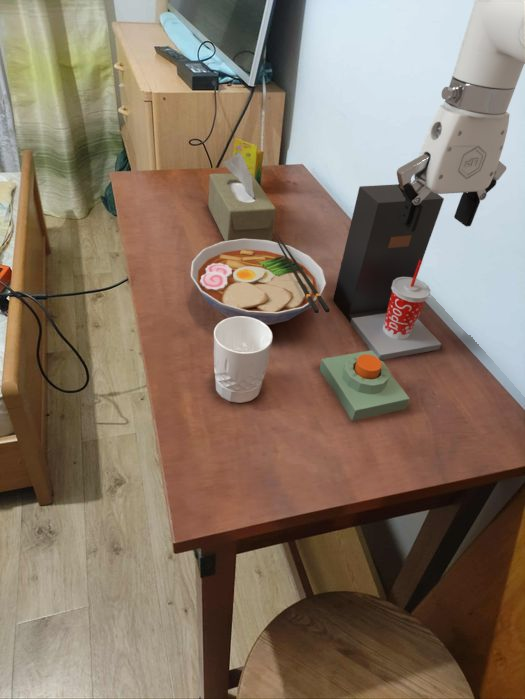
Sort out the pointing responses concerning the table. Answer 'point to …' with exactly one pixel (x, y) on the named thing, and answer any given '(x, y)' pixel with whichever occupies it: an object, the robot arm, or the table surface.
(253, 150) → the crayon box
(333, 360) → the brew pad
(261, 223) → the tissue box
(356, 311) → the coffee maker
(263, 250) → the ramen bowl
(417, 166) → the robot arm
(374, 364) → the button
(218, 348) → the white cup
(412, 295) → the beverage cup
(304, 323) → the table surface
